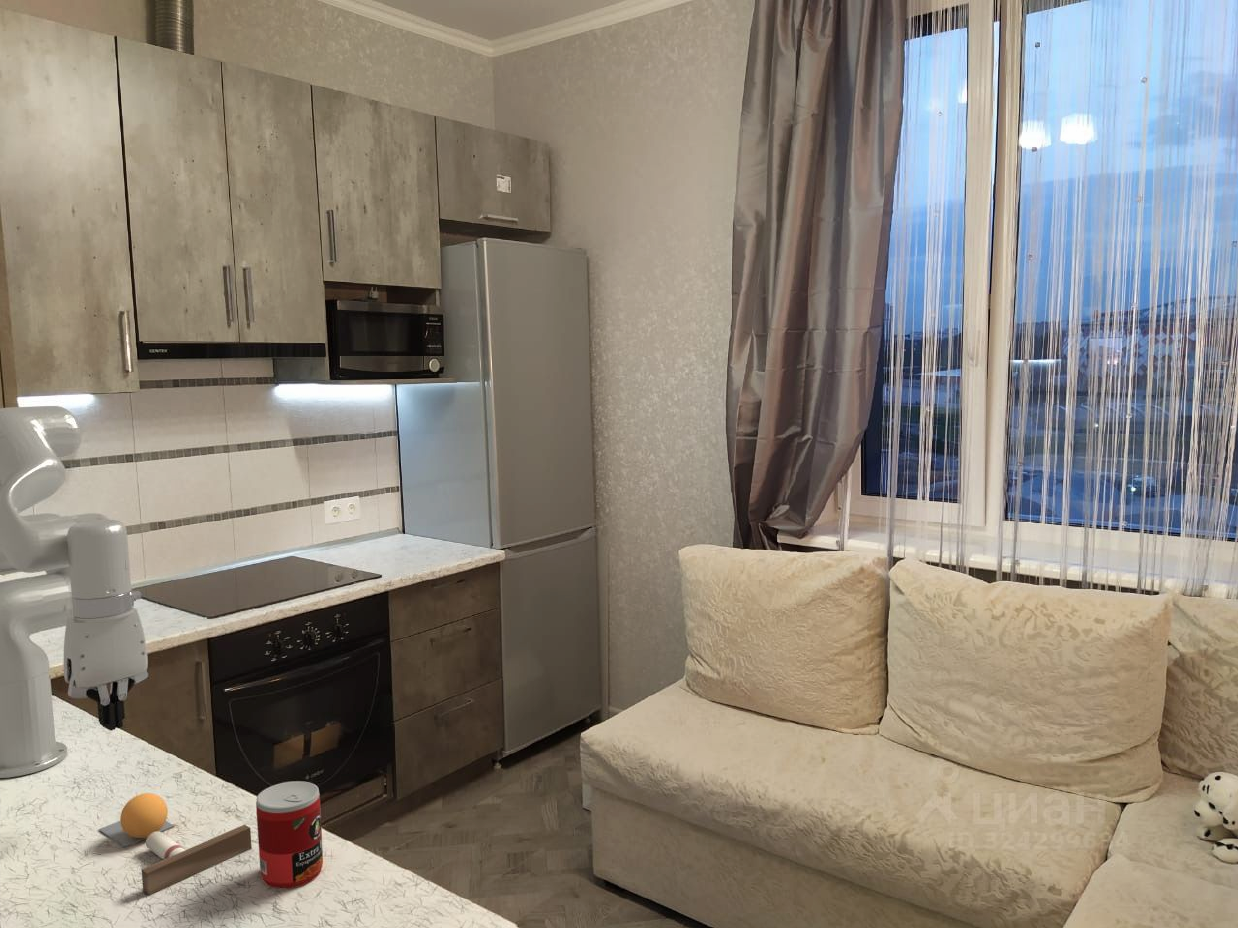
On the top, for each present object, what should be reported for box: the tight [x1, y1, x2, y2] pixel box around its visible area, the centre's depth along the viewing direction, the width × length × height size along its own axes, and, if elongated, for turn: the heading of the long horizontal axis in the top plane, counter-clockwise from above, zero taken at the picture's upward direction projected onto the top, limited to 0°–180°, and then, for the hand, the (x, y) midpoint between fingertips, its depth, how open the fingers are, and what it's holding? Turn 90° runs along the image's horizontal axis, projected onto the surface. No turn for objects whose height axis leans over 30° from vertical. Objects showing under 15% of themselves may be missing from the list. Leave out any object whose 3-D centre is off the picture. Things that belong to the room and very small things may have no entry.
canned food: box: [255, 780, 324, 890], centre depth 118 cm, size 8×8×11 cm
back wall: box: [141, 824, 253, 897], centre depth 120 cm, size 2×14×3 cm, turn 142°
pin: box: [145, 831, 186, 860], centre depth 122 cm, size 2×2×8 cm
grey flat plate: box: [98, 820, 175, 848], centre depth 131 cm, size 8×7×1 cm
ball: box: [119, 792, 169, 839], centre depth 129 cm, size 6×6×6 cm
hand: (112, 726), depth 133 cm, fingers closed
